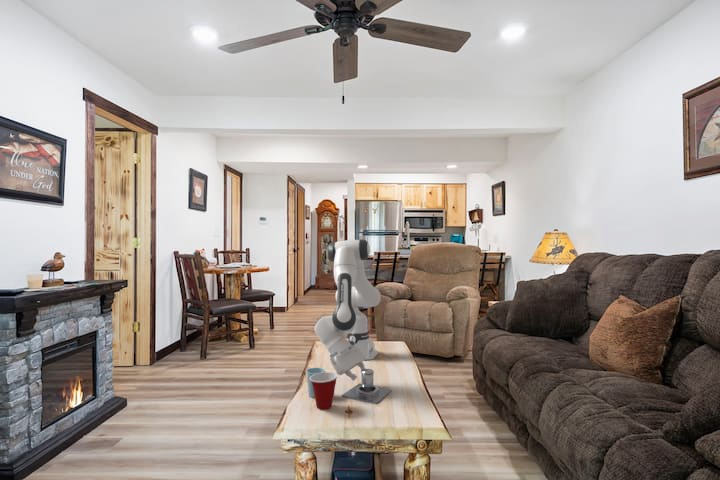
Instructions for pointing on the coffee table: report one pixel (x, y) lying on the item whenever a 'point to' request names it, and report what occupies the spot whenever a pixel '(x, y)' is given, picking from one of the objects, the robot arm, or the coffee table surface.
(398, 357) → the coffee table surface
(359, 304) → the robot arm
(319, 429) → the coffee table surface
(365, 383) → the metal cylinder
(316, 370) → the cup
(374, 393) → the flange
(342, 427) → the coffee table surface
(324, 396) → the plastic cup
